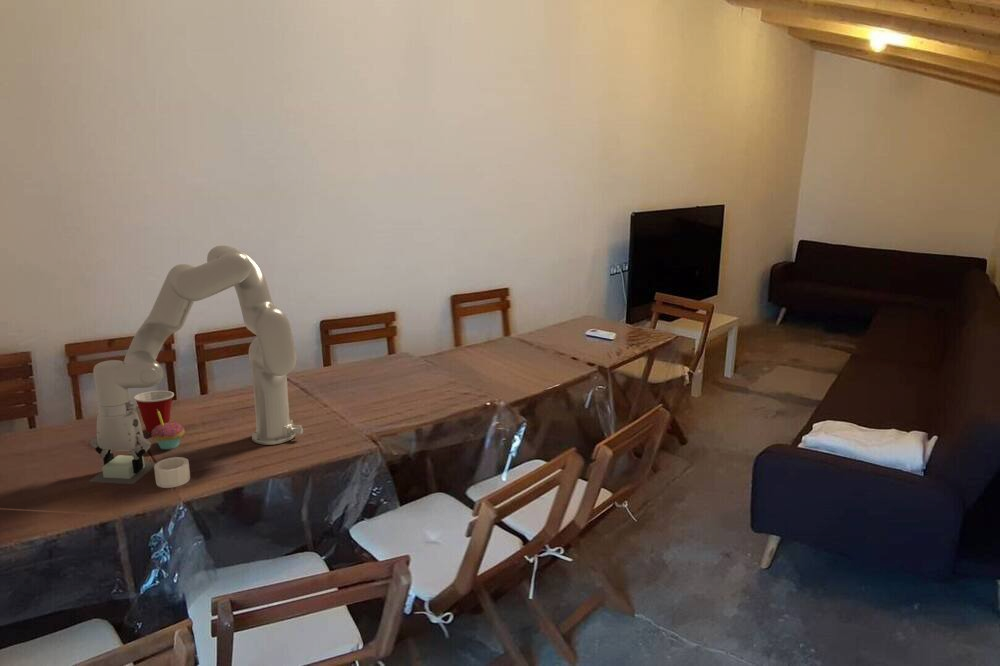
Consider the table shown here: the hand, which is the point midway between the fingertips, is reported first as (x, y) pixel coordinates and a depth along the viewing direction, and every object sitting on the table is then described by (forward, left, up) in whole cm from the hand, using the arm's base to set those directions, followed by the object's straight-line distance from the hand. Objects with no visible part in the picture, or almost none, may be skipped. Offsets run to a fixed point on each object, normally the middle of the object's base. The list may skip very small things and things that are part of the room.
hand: (124, 469), depth 177 cm
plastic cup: (+6, -27, -1) cm, 28 cm away
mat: (0, 0, -1) cm, 1 cm away
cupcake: (-3, -17, -1) cm, 17 cm away
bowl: (-15, +3, -1) cm, 15 cm away
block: (0, 0, -1) cm, 1 cm away
